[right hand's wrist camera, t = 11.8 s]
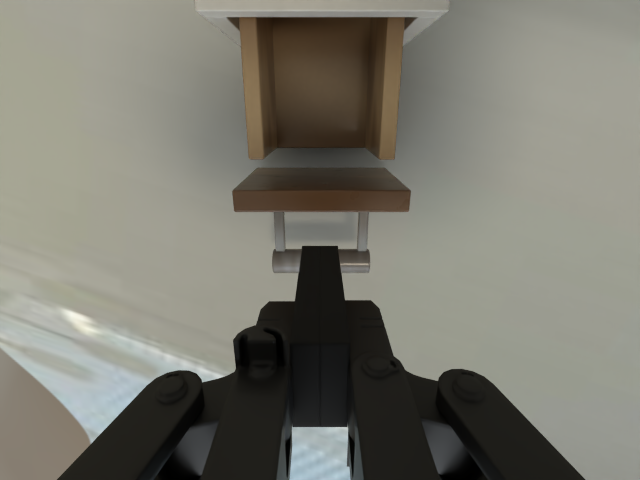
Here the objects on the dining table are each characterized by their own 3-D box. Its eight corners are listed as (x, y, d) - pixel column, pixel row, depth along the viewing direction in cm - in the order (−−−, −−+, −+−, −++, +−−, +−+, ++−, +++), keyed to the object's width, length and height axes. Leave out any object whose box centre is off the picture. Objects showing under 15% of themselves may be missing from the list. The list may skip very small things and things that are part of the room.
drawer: (379, 251, 27) (400, 301, 20) (262, 251, 27) (241, 301, 20) (401, -79, 20) (446, -183, 13) (241, -79, 20) (198, -184, 13)
